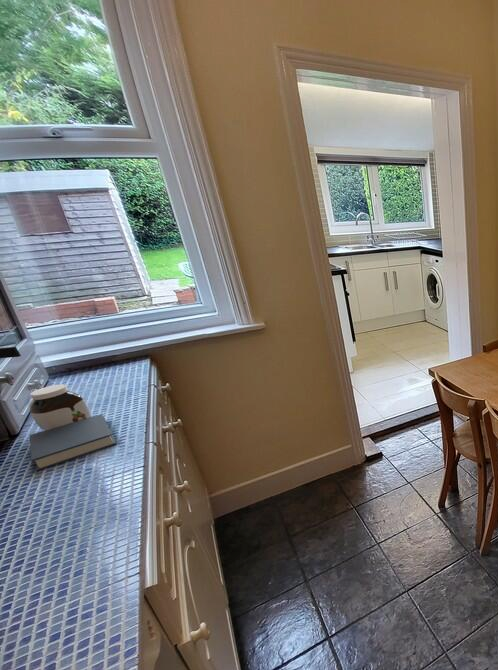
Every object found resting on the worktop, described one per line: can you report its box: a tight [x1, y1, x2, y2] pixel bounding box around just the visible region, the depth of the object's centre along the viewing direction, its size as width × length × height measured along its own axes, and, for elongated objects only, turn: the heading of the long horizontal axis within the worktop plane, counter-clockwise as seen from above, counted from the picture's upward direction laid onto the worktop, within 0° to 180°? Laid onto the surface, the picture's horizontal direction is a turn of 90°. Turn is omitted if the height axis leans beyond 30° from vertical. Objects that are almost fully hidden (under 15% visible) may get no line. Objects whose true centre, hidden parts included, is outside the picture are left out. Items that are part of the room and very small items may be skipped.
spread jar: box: [29, 383, 92, 431], centre depth 113 cm, size 12×11×12 cm
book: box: [29, 413, 117, 471], centre depth 105 cm, size 18×14×3 cm
